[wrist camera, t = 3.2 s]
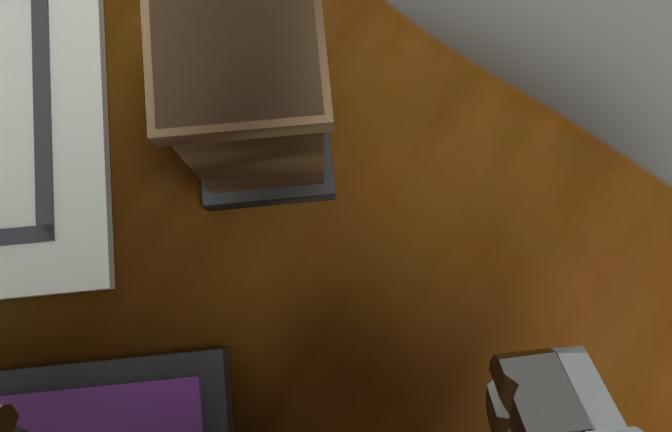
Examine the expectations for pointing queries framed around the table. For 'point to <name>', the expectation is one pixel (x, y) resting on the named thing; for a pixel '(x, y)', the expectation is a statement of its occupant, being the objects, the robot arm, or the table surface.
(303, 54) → the stamp
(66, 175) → the print card
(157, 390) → the ink pad
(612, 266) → the table surface
